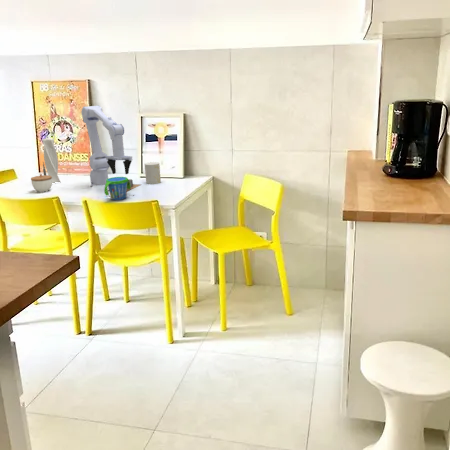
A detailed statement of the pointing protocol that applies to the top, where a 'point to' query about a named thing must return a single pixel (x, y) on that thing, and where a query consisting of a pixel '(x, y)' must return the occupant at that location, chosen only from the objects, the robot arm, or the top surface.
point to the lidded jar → (42, 182)
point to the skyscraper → (50, 159)
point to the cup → (152, 173)
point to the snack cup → (117, 187)
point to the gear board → (133, 187)
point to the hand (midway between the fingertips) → (120, 173)
